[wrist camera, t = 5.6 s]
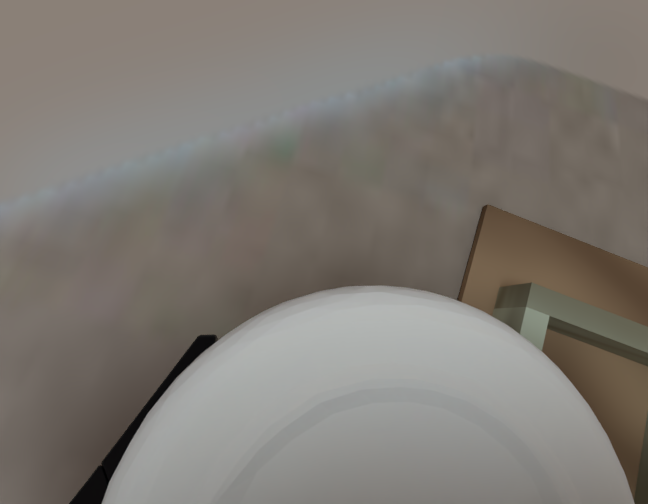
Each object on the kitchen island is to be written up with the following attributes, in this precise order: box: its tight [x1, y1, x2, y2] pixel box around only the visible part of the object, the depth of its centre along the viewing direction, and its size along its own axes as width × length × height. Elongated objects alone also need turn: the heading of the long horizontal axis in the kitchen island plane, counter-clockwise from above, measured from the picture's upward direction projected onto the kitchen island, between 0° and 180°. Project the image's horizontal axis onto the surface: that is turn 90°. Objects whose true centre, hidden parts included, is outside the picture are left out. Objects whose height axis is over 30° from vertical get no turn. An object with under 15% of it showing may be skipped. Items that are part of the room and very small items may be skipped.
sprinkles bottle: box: [102, 285, 635, 504], centre depth 9 cm, size 5×5×14 cm
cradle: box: [458, 205, 648, 504], centre depth 16 cm, size 16×12×3 cm
